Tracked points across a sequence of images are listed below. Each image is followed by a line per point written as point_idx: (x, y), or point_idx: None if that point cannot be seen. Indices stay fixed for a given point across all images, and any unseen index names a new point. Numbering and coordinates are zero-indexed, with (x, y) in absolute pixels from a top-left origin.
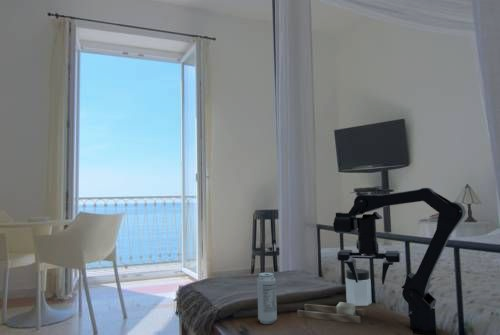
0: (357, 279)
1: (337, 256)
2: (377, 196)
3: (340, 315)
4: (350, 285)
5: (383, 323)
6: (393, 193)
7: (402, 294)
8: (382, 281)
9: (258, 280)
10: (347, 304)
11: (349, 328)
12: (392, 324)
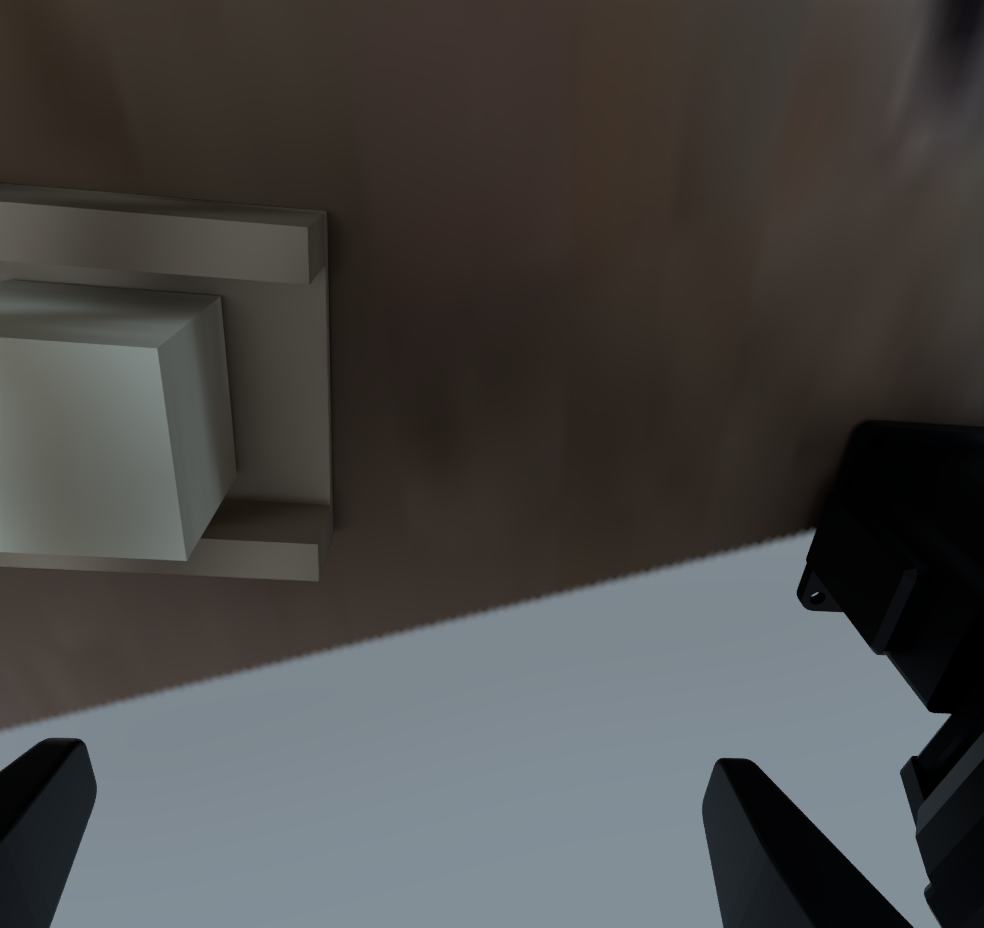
0: (50, 860)
1: None
2: None
3: (93, 570)
4: None
5: (562, 409)
6: None
7: (932, 909)
8: (727, 900)
9: None
10: (69, 442)
11: (256, 624)
12: (654, 416)
